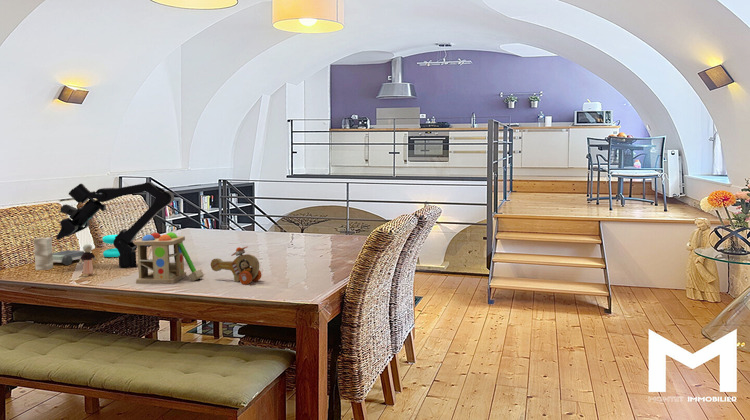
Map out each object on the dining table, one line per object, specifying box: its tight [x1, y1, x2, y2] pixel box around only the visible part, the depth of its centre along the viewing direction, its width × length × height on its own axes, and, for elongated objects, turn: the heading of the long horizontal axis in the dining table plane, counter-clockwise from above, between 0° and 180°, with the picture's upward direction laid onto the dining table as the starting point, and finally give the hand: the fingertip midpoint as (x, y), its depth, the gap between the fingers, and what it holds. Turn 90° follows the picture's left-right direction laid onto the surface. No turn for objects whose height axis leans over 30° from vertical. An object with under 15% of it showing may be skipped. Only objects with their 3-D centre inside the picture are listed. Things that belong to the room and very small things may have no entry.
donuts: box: [102, 234, 120, 258], centre depth 281 cm, size 10×10×10 cm
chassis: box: [52, 249, 85, 266], centre depth 265 cm, size 16×13×4 cm
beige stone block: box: [33, 236, 54, 271], centre depth 249 cm, size 5×5×13 cm
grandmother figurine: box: [78, 243, 97, 277], centre depth 235 cm, size 8×4×13 cm, turn 168°
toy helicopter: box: [210, 246, 262, 286], centre depth 222 cm, size 8×21×14 cm, turn 68°
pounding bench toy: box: [133, 231, 205, 284], centre depth 225 cm, size 23×14×18 cm, turn 88°
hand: (61, 237), depth 249 cm, fingers open, 9 cm apart
